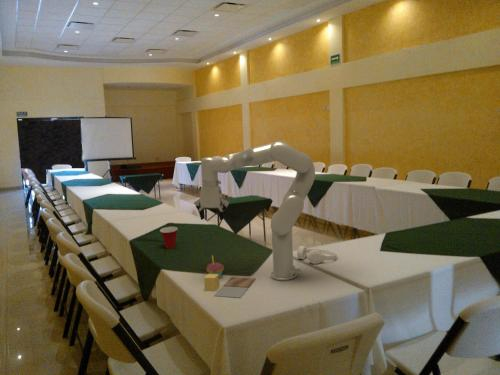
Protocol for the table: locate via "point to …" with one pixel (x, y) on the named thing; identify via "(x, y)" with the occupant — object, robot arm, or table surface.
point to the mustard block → (211, 282)
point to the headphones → (315, 255)
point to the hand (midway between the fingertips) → (212, 219)
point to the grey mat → (231, 292)
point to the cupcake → (215, 268)
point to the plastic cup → (169, 236)
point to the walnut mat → (240, 282)
